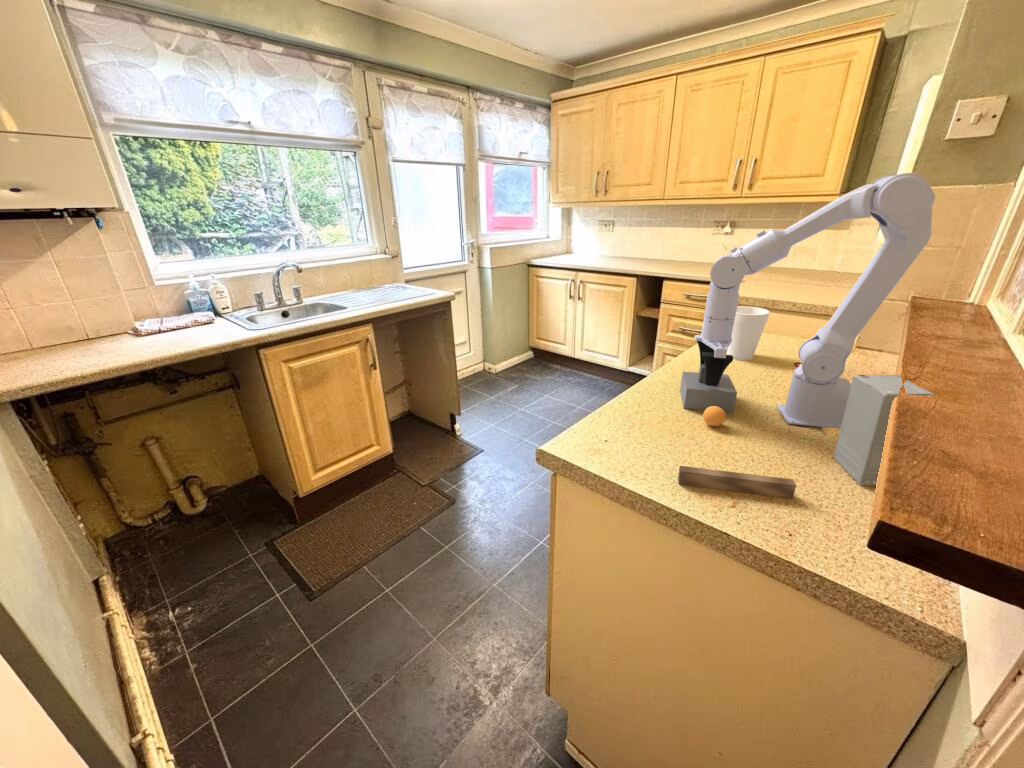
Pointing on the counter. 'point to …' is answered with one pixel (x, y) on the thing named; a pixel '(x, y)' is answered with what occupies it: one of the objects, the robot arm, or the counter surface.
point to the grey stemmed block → (707, 391)
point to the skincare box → (868, 424)
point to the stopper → (737, 482)
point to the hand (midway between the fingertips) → (708, 377)
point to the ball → (714, 416)
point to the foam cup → (747, 331)
